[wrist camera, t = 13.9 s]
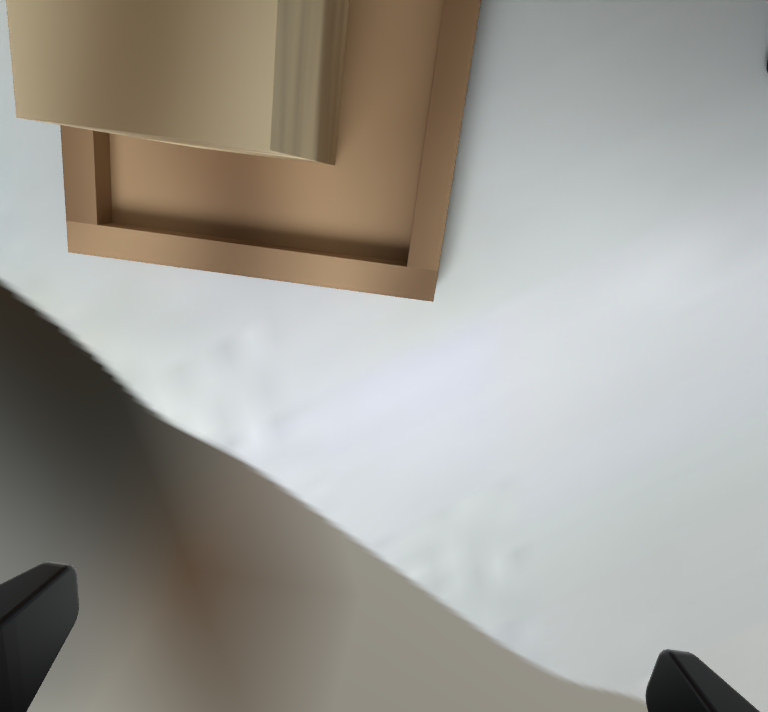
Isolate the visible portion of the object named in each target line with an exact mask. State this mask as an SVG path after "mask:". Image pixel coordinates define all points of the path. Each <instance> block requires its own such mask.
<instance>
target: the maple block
mask: <svg viewBox="0 0 768 712" xmlns="http://www.w3.org/2000/svg"><path fill="white" fill-rule="evenodd" d="M6 4H7V16H8V27H9V38H10V49H11V61H12V72H13V83H14V94H15V106H16V117H17V118H23V119H29V120H35V121H41V122H47V123H52V124H58V125H64V126H70V127H76V128H82V129H88V130H94V131H100V132H106V133H112V134H118V135H124V136H130V137H136V138H141V139H147V140H153V141H159V142H165V143H171V144H177V145H183V146H189V147H195V148H202V149H210V150H218V151H226V152H233V153H241V154H249V155H257V156H264V157H272V158H280V159H288V160H295V161H303V162H311V163H319V164H326V165H334V166H335V158H336V147H337V136H338V124H339V113H340V101H341V90H342V79H343V67H344V56H345V45H346V33H347V22H348V10H349V1H348V0H6Z"/></svg>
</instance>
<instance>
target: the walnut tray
mask: <svg viewBox="0 0 768 712" xmlns="http://www.w3.org/2000/svg"><path fill="white" fill-rule="evenodd" d="M348 1H349V10H348V22H347V33H346V45H345V56H344V67H343V79H342V90H341V101H340V113H339V124H338V136H337V147H336V158H335V166H334V165H326V164H319V163H311V162H303V161H295V160H288V159H280V158H272V157H264V156H257V155H249V154H241V153H233V152H226V151H218V150H210V149H202V148H195V147H189V146H183V145H177V144H171V143H165V142H159V141H153V140H147V139H141V138H136V137H130V136H124V135H118V134H112V133H106V132H100V131H94V130H88V129H82V128H76V127H70V126H64V125H60V126H61V142H62V158H63V174H64V190H65V206H66V223H67V239H68V252H71V253H78V254H86V255H93V256H100V257H108V258H115V259H123V260H130V261H137V262H145V263H152V264H159V265H167V266H174V267H182V268H189V269H196V270H204V271H211V272H218V273H226V274H233V275H241V276H248V277H255V278H263V279H270V280H277V281H285V282H292V283H300V284H307V285H314V286H322V287H329V288H336V289H344V290H351V291H359V292H366V293H373V294H381V295H388V296H396V297H403V298H410V299H418V300H425V301H432V302H433V300H434V294H435V288H436V281H437V275H438V269H439V262H440V256H441V250H442V243H443V237H444V231H445V225H446V218H447V212H448V206H449V199H450V193H451V187H452V180H453V174H454V168H455V162H456V155H457V149H458V143H459V136H460V130H461V124H462V118H463V111H464V105H465V99H466V92H467V86H468V80H469V73H470V67H471V61H472V55H473V48H474V42H475V36H476V29H477V23H478V17H479V10H480V4H481V0H348Z"/></svg>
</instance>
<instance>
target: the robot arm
mask: <svg viewBox="0 0 768 712" xmlns="http://www.w3.org/2000/svg"><path fill="white" fill-rule="evenodd" d="M767 71H768V62H767ZM78 611H79V598H78V584H77V573H76V569H75V568H74V566H72V565H70V564H63V563H56V562H45V563H42V564H40V565H38V566H36V567H34V568H32V569H30V570H28V571H26V572H24V573H22V574H20V575H18V576H16V577H14V578H12V579H10V580H8V581H6V582H4V583H2V584H0V712H27V710H28V708H29V706H30V704H31V702H32V701H33V699H34V697H35V695H36V693H37V691H38V690H39V688H40V686H41V684H42V682H43V680H44V679H45V677H46V675H47V673H48V671H49V669H50V668H51V666H52V664H53V662H54V660H55V658H56V657H57V655H58V653H59V651H60V649H61V647H62V646H63V644H64V642H65V640H66V638H67V637H68V635H69V633H70V631H71V629H72V627H73V626H74V623H75V621H76V619H77V615H78ZM646 705H647V709H648V712H760V711H758V710H757V709H756V708H755V707H754V706H753V705H752V704H750V703H749V702H748V701H747V700H746V699H745V698H744V697H742V696H741V695H740V694H739V693H738V692H737V691H735V690H734V689H733V688H732V687H731V686H730V685H729V684H727V683H726V682H725V681H724V680H723V679H722V678H721V677H719V676H718V675H717V674H716V673H715V672H714V671H713V670H711V669H710V668H709V667H708V666H707V665H706V664H704V663H703V662H702V661H701V660H700V659H699V658H698V657H696V656H695V655H693V654H692V653H689V652H683V651H677V650H670V649H666V650H663V651H662V652H661V653H660V654H659V656H658V659H657V661H656V664H655V667H654V669H653V672H652V675H651V677H650V680H649V683H648V685H647V689H646Z"/></svg>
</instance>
